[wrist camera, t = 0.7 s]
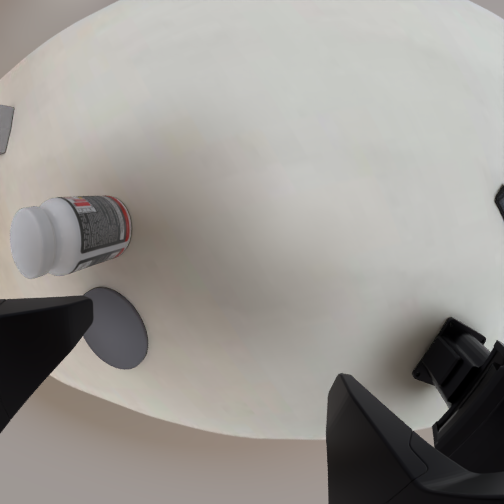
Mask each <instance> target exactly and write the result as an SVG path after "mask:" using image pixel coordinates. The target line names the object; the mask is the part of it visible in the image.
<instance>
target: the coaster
mask: <svg viewBox="0 0 504 504" xmlns="http://www.w3.org/2000/svg"><path fill="white" fill-rule="evenodd" d="M84 296H86V297H88V298H91V299H92V301H93V314H94V319H93V323H92V325H91V326H90V327H89V329H88V330H87V331H86V333H85V334H84V335H83V336H84V338H85V340H86V342H87V344H88V345H89V347H90V348H91V349H92V351H93V352H94V353H95V354H96V355H97V356H98V357H99V358H100V359H102V360H103V361H104V362H106V363H107V364H109V365H111V366H113V367H115V368H119V369H132V368H134V367H136V366H137V365H139V364H140V363H141V362H142V361H143V359H144V358H145V356H146V354H147V350H148V337H147V332H146V329H145V326H144V324H143V321H142V319H141V317H140V315H139V314H138V312H137V311H136V309H135V308H134V307H133V305H132V304H131V303H130V302H129V301H128V300H127V299H126V298H125V297H123V296H122V295H121V294H119V293H118V292H116V291H114V290H112V289H109V288H103V287H100V288H95V289H92V290H90V291H88V292H87V293H85V294H84Z"/></svg>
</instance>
